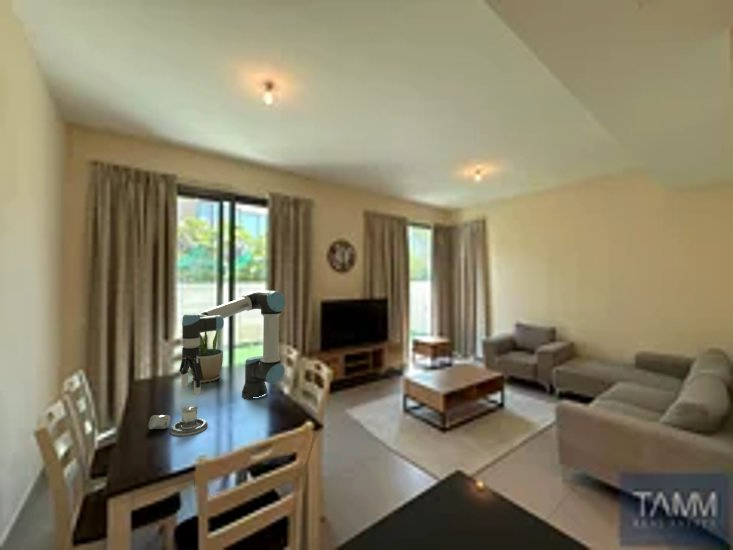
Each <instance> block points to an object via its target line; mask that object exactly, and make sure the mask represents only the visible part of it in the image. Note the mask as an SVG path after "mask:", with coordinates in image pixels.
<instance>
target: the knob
mask: <svg viewBox="0 0 733 550" xmlns="http://www.w3.org/2000/svg"><path fill="white" fill-rule="evenodd" d="M198 408H199V407H198V406H197V405H194V404H193V405H191V404H190V405H186V406H183V407H182V408H181V420H182V425H181V429H182V430H189V429H194V428H196V427H197V426H198V423H197V418H198Z"/></svg>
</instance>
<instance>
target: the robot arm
mask: <svg viewBox="0 0 733 550" xmlns="http://www.w3.org/2000/svg"><path fill="white" fill-rule="evenodd" d="M286 303H287V302H286V298H285V296H284V294H283V293H282V292H280V291H277V290H264V289H259V290H255V291H252V292H249V293H247V294H244V295H242V296H241V297H240V298H238V299H236V300H232V301H229V302H227V303H223V304H221V305H220V304H219V305H218V306H215V307H211V308H209V309H206V310H204V311H200V312H198V313H195V312H194V313H193V312H192V313H186V314H183V316H182V323H181V325H182V326H181V328H182V329H181V330H182V332H181V334H182V337H181V338H182V339H181V346H182V348H181V354H182V355H181V357H182V358H181V362H180V365H179V366H180V367H179V371H178V372H179V373H180V374H181V389H184V388H188V387H189V369H190V368H191V369H192V372H193V375H194V378H195V379H194V381H193V395H194V396H195V395H200V394H201V386H202V385H201V384H202V383H201V380H202V379H203V374H202V369H201V364H200V358H198V359H197V357H196V356H197V355H198V354H199V353H200V347H199V345H200V334H202V333H205V332H216V330H218V331H220V330H222V329H223V328H224V324H225V320H224V319H227V318H229V317H232V316H235V315H237V314H239V313H242V312H245V311H246V312H249V311H252V310H260V314H261V315H262V316H263V331H262V332H263V334H262V335H263V336H262V337H263V338H262V341H263V343H262V345H263V346H262V355H261V356H253V357H248V358H247V359H246V360H245V365H244V369H245V370H244V372H245V373H244V384H243V387H242V391H241V397H242V398H243V397H245V398H244V399H246V398H253V397H259V396H262V395H264V394H266V393H267V394H268V387H267V384H277V383H279V382H280V381H281V380H282V378H283V377H284V375H285V367H284V365H283V364H281V363H282V361H281V358H280V356H279V323H280V322H279V318H280V316H281V314H282V311H283V310H284V309H285V307H286ZM191 369H190V370H191ZM193 375H192V376H193ZM266 383H267V384H266Z"/></svg>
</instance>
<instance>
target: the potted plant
mask: <svg viewBox="0 0 733 550" xmlns="http://www.w3.org/2000/svg"><path fill="white" fill-rule="evenodd" d="M207 334H208V333H207V332H204V338H203V336H202V333H200V345H199V347H200V353H199V354H198V355H197V356H196V357H197V359H198V358H200V364H201V369H202V374H203V379H202V380H201V384H207V383H206V382H208V383H212V381H213V382H216V381H217V379H218V380H219V379H220V378H221V370H222V365H223V360H224V359H223V358H224V351H223V350H222V349H220V348H217V344H218V343H217V342H218V334H219V330H216V331H215V334H214V337H213V340H212V348H208V335H207ZM189 369H190V372H191V375H192V381H193V382H194V379H195V378H194V375H193V372H192V369H191V368H190V367H189ZM215 380H216V381H215Z"/></svg>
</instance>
